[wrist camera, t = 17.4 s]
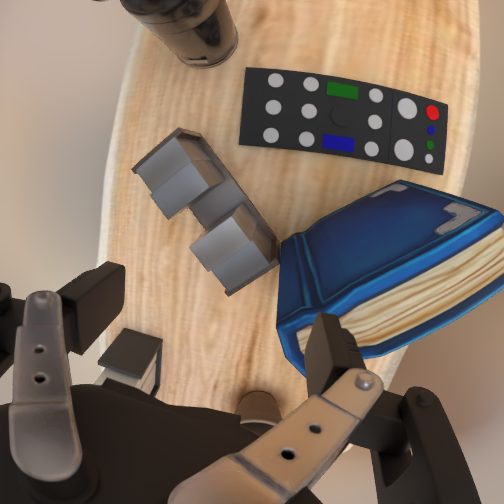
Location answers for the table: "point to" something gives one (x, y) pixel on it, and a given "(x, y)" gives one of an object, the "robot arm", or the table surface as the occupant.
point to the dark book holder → (135, 358)
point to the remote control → (343, 119)
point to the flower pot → (258, 412)
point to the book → (389, 268)
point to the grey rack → (210, 208)
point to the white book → (124, 376)
